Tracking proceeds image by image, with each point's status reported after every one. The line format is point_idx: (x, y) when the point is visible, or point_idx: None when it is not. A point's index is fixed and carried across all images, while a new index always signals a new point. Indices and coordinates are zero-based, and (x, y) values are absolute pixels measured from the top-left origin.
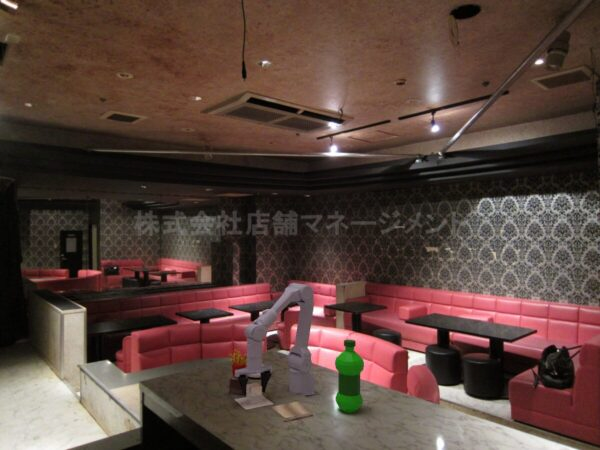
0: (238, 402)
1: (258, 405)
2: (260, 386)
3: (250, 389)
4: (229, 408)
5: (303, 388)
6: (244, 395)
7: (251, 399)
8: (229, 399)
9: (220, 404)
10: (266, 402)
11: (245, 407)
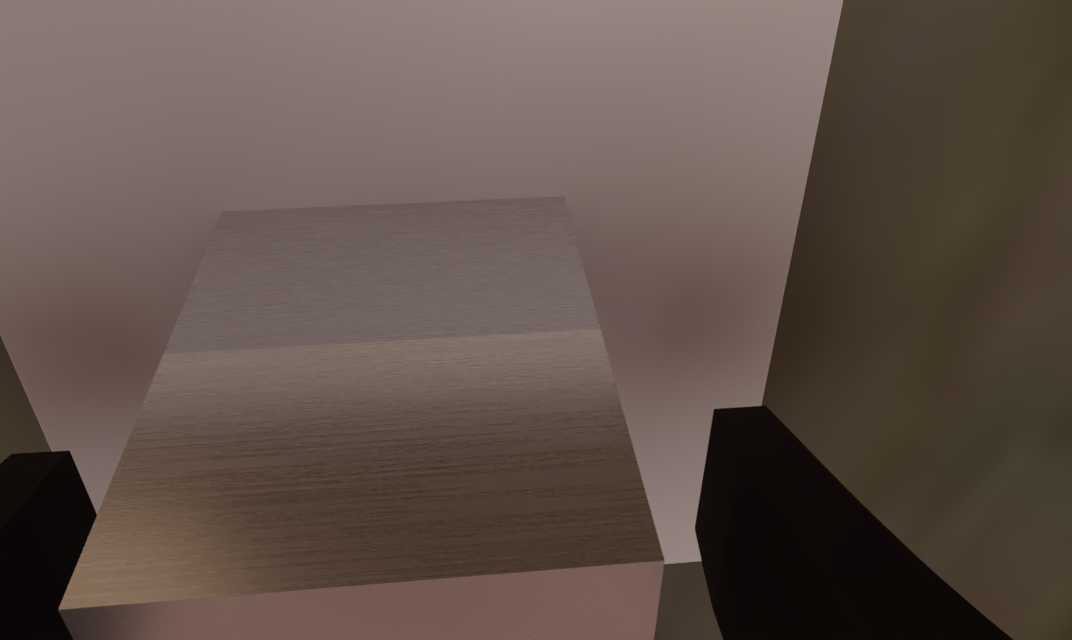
0: None
1: (378, 48)
2: (142, 597)
3: (642, 529)
4: (908, 343)
5: None
6: (775, 419)
7: (555, 272)
8: (689, 635)
9: (919, 528)
10: (70, 160)
11: (777, 77)
